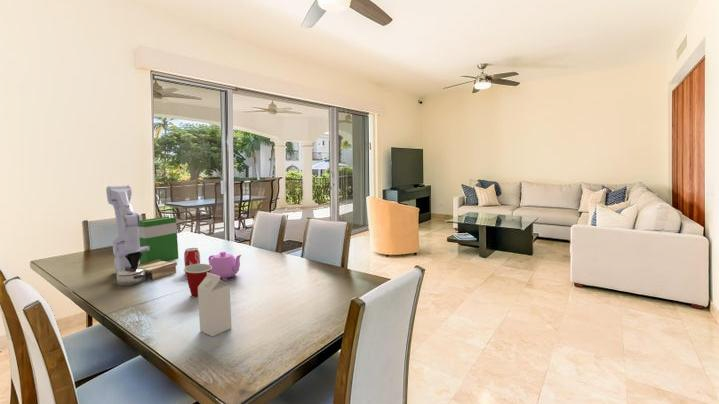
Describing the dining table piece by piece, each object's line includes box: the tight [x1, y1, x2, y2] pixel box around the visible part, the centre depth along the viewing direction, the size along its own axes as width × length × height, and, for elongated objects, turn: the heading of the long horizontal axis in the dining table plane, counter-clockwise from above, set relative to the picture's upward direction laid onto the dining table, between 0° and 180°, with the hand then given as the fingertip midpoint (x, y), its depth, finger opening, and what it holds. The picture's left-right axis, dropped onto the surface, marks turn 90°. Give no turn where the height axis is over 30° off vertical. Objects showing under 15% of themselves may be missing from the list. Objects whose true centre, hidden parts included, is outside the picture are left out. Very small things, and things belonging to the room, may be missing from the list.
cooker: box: [115, 270, 147, 287], centre depth 163 cm, size 15×11×4 cm
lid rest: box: [138, 259, 178, 280], centre depth 174 cm, size 13×13×5 cm
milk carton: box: [197, 272, 233, 338], centre depth 115 cm, size 7×7×19 cm
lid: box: [117, 266, 144, 276], centre depth 162 cm, size 11×11×2 cm
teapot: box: [208, 251, 242, 282], centre depth 168 cm, size 20×14×12 cm
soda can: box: [183, 247, 201, 267], centre depth 176 cm, size 7×7×12 cm
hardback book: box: [138, 216, 179, 265], centre depth 197 cm, size 18×7×24 cm, turn 151°
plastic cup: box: [183, 263, 212, 298], centre depth 146 cm, size 11×11×12 cm
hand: (134, 268), depth 164 cm, fingers closed
